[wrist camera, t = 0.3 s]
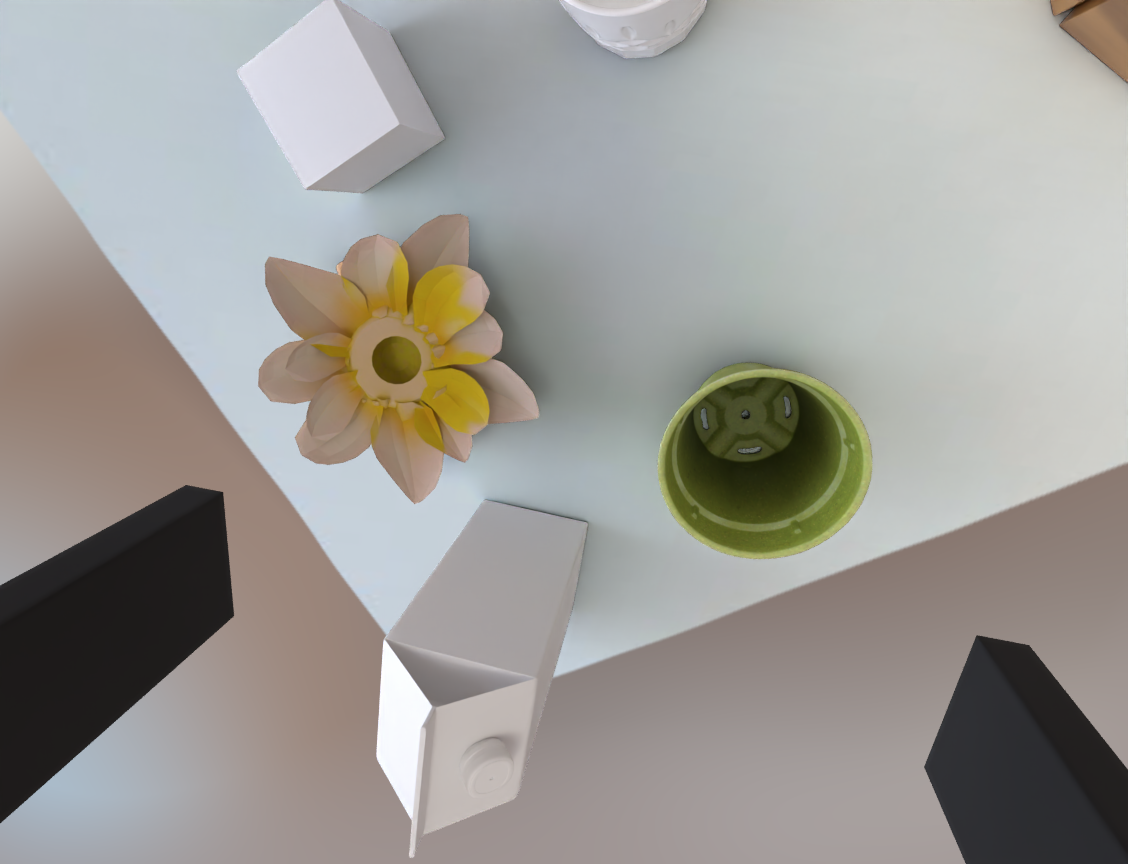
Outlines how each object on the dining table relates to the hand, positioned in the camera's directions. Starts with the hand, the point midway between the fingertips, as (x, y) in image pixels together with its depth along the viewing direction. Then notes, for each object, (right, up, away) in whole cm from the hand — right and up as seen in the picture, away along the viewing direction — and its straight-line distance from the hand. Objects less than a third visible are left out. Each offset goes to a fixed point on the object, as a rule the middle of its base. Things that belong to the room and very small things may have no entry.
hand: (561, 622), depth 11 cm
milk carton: (-2, -5, +32) cm, 32 cm away
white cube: (-10, +21, +24) cm, 34 cm away
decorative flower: (-8, +8, +28) cm, 30 cm away
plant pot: (+11, +4, +26) cm, 28 cm away
